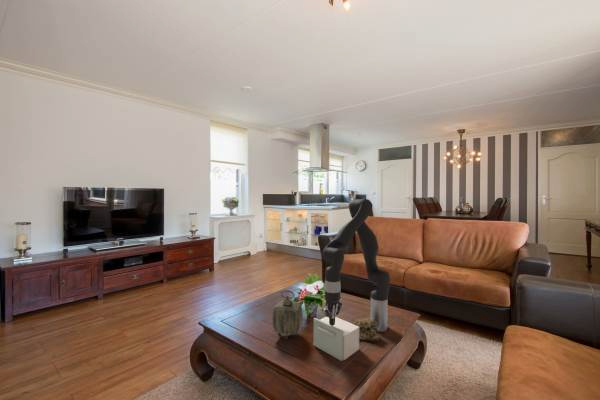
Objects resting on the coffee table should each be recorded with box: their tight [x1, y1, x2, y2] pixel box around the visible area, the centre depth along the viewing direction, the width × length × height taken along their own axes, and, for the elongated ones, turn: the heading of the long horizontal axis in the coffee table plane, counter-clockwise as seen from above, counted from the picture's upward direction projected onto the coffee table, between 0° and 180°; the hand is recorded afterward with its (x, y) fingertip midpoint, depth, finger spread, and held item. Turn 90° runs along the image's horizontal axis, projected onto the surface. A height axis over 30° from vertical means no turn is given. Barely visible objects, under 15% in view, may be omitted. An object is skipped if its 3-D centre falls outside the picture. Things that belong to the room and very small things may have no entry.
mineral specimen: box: [352, 317, 380, 343], centre depth 145 cm, size 14×13×10 cm
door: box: [312, 317, 344, 362], centre depth 129 cm, size 2×17×14 cm, turn 44°
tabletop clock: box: [272, 290, 304, 340], centre depth 144 cm, size 14×9×25 cm, turn 77°
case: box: [319, 316, 360, 361], centre depth 135 cm, size 12×18×12 cm, turn 44°
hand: (332, 324), depth 132 cm, fingers closed
